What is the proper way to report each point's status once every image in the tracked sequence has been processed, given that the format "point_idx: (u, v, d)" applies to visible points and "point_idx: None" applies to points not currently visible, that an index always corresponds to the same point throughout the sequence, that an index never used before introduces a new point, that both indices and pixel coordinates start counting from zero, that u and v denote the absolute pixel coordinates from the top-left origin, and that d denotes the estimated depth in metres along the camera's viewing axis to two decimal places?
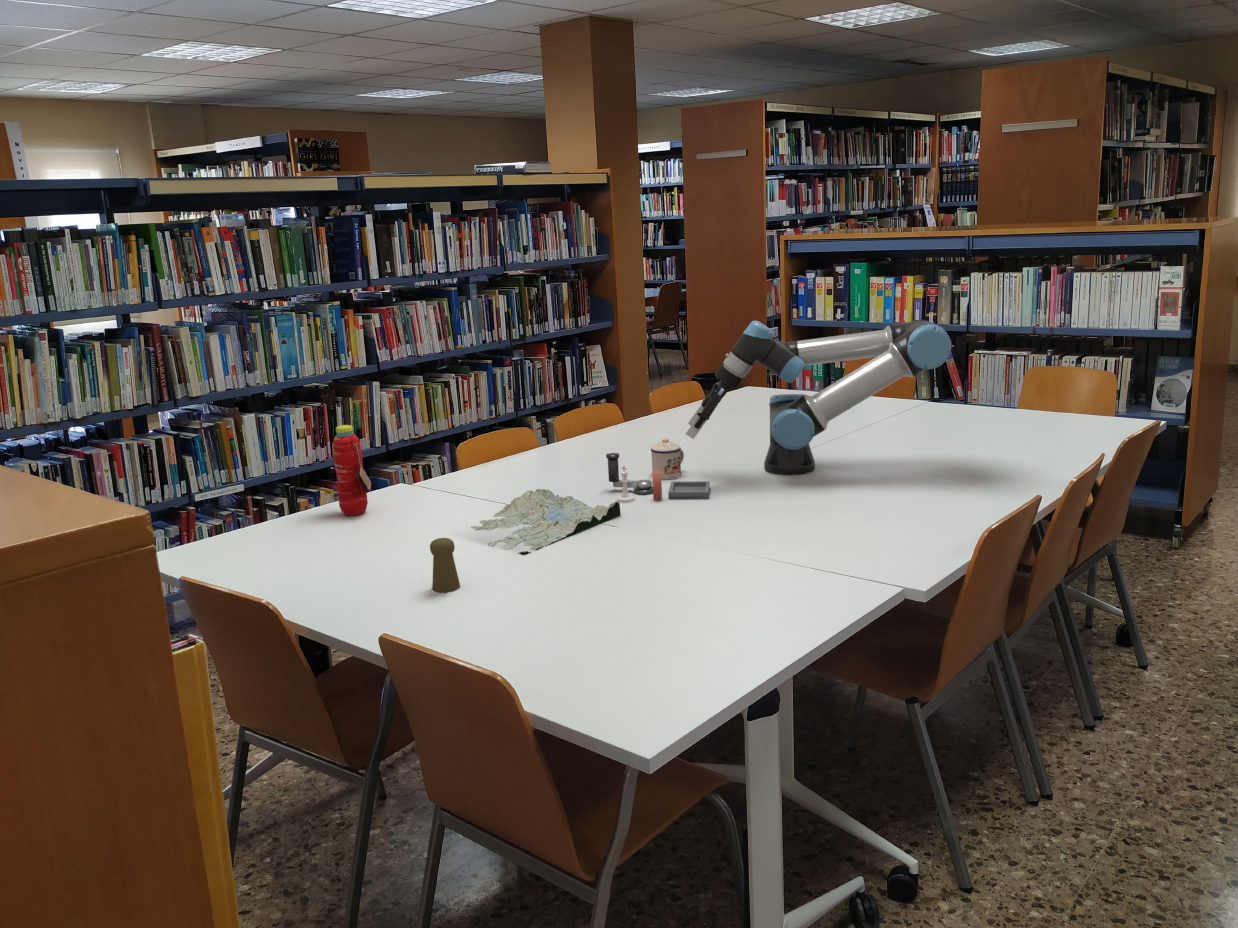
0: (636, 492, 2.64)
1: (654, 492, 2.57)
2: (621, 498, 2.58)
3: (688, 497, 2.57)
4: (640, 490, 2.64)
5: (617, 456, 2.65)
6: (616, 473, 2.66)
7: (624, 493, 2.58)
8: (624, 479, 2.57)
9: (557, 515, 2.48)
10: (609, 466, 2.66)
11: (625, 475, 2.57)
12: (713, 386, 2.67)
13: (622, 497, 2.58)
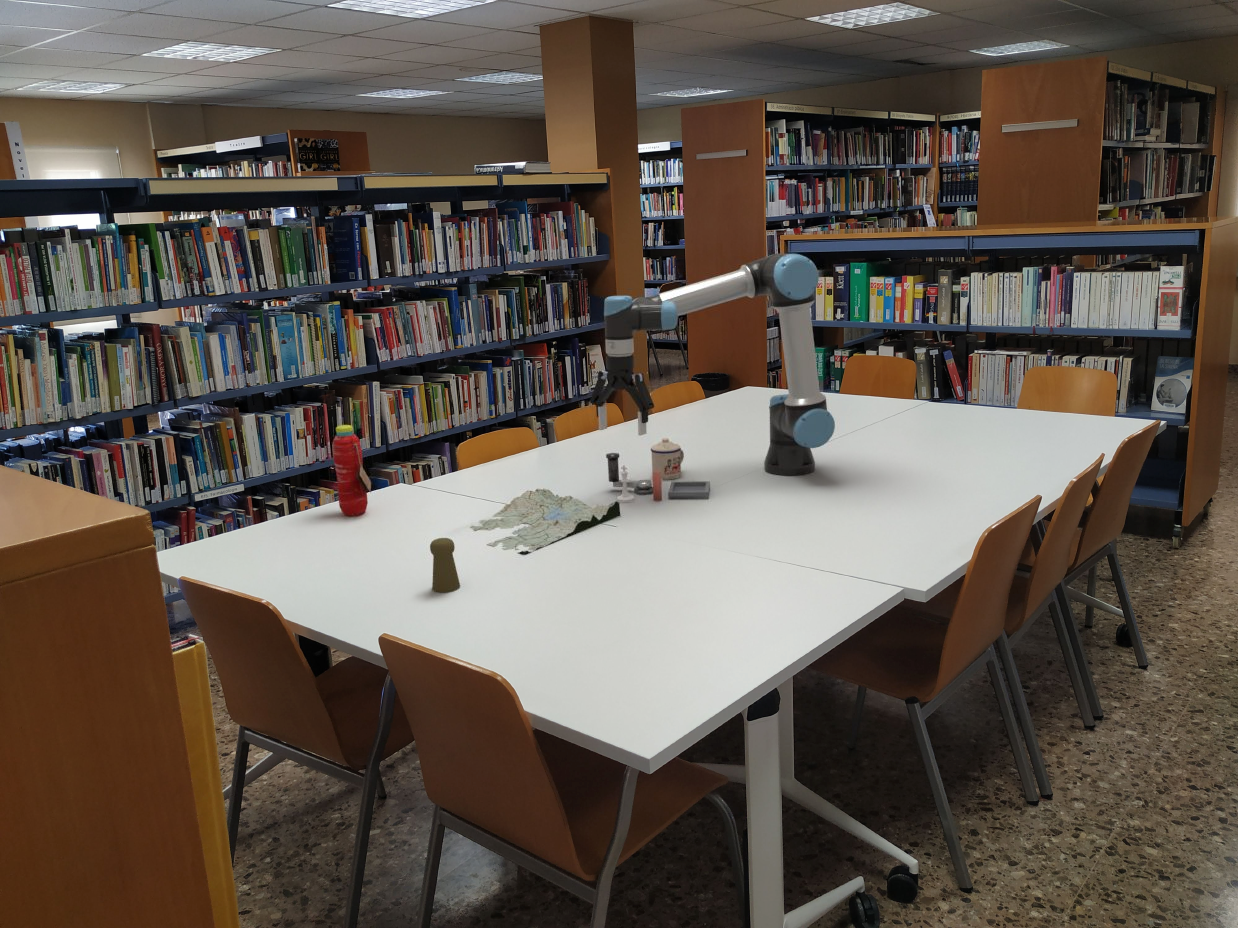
0: (636, 492, 2.64)
1: (654, 492, 2.57)
2: (621, 498, 2.58)
3: (688, 497, 2.57)
4: (640, 490, 2.64)
5: (617, 456, 2.65)
6: (616, 473, 2.66)
7: (624, 493, 2.58)
8: (624, 479, 2.57)
9: (557, 515, 2.48)
10: (609, 466, 2.66)
11: (625, 475, 2.57)
12: (613, 380, 2.50)
13: (622, 497, 2.58)
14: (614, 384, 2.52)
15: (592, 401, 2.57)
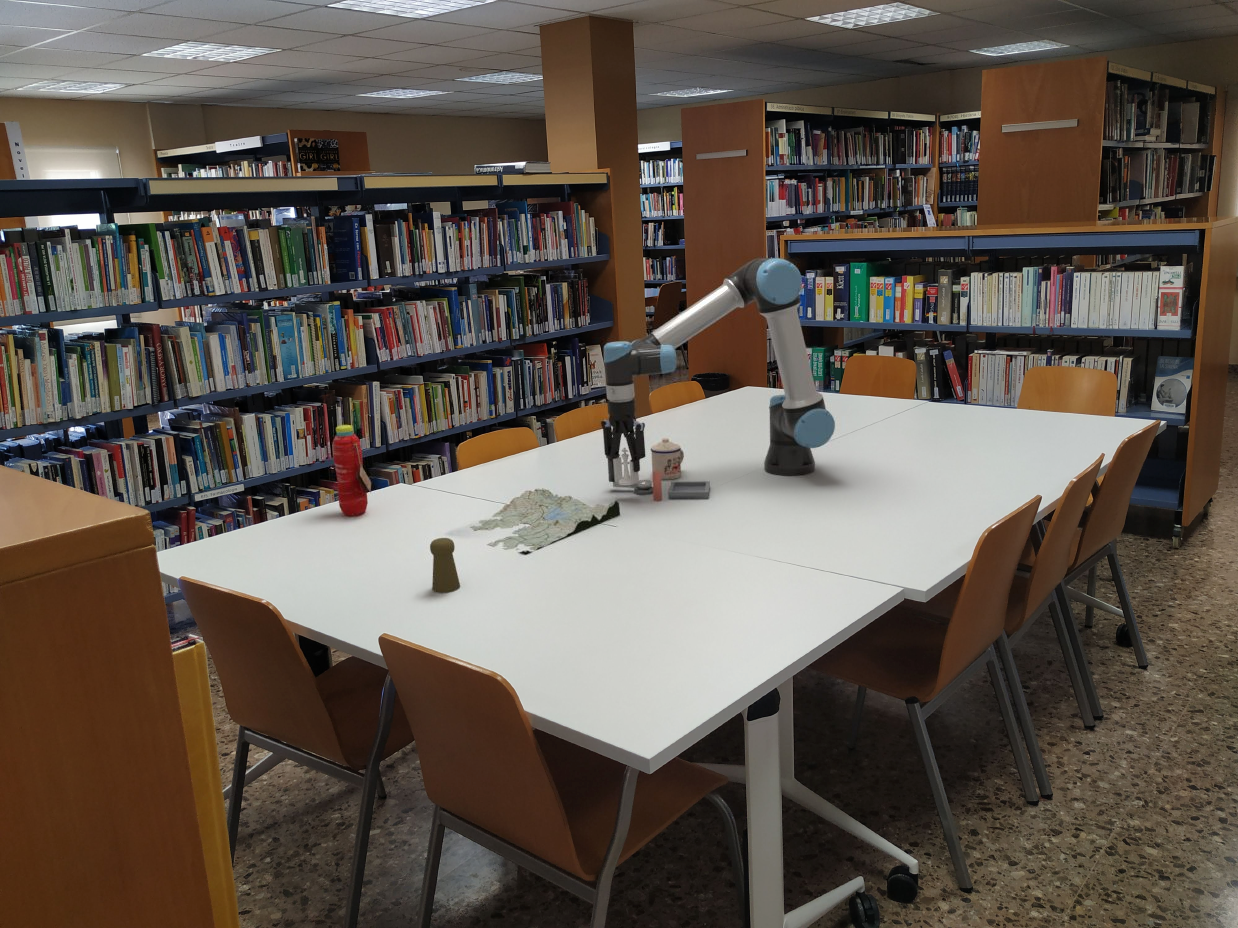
0: (636, 492, 2.64)
1: (654, 492, 2.57)
2: (622, 480, 2.57)
3: (688, 497, 2.57)
4: (640, 490, 2.64)
5: None
6: None
7: (625, 476, 2.57)
8: (625, 461, 2.56)
9: (557, 515, 2.48)
10: (609, 466, 2.66)
11: (626, 457, 2.56)
12: (616, 424, 2.53)
13: (623, 480, 2.57)
14: (618, 428, 2.54)
15: (607, 453, 2.58)
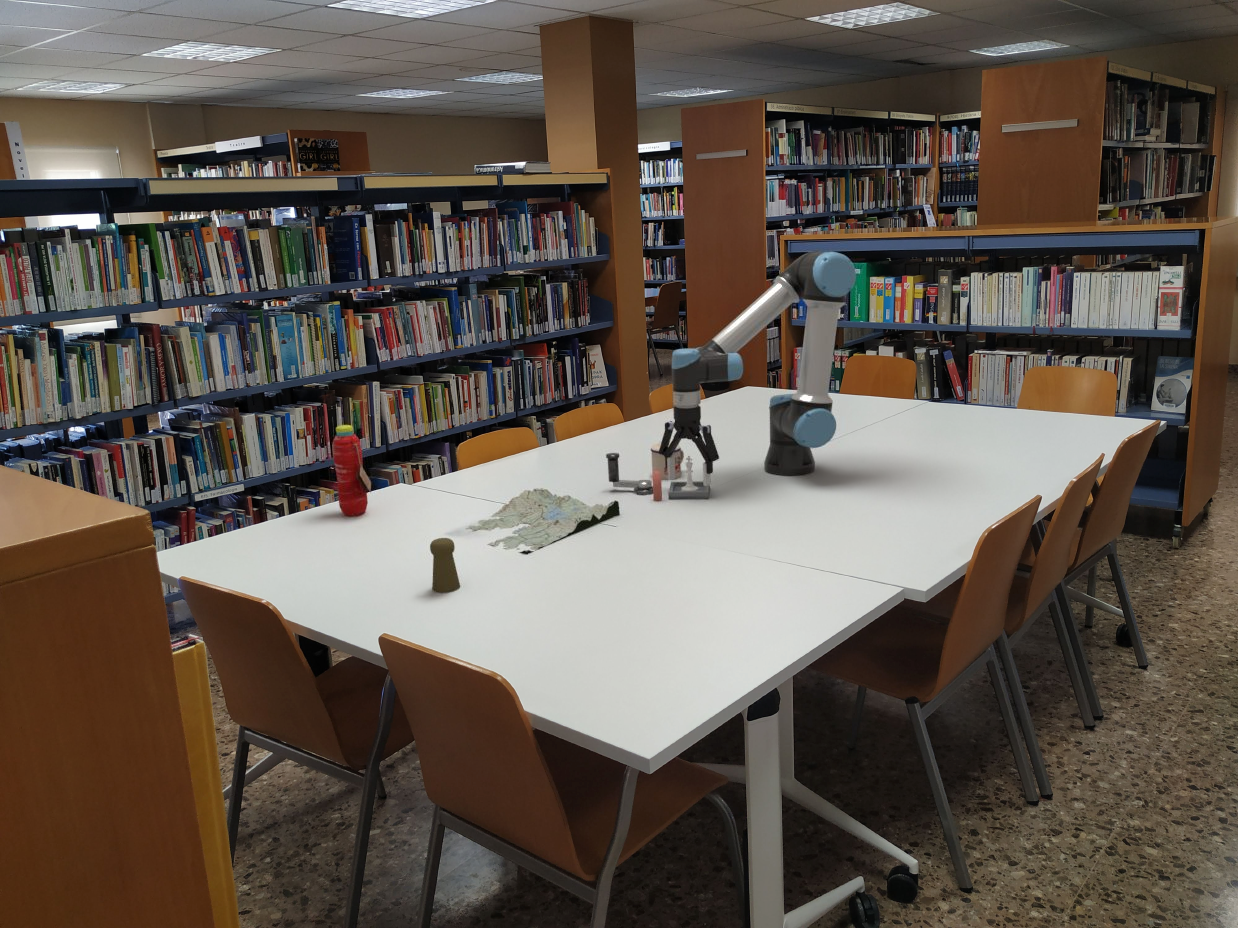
0: (636, 492, 2.64)
1: (654, 492, 2.57)
2: (685, 488, 2.61)
3: (688, 497, 2.57)
4: (640, 490, 2.64)
5: (617, 456, 2.65)
6: (616, 473, 2.66)
7: (689, 484, 2.61)
8: (689, 470, 2.60)
9: (556, 514, 2.48)
10: (609, 466, 2.66)
11: (690, 466, 2.60)
12: (681, 430, 2.57)
13: (687, 488, 2.61)
14: (682, 434, 2.58)
15: (661, 452, 2.64)
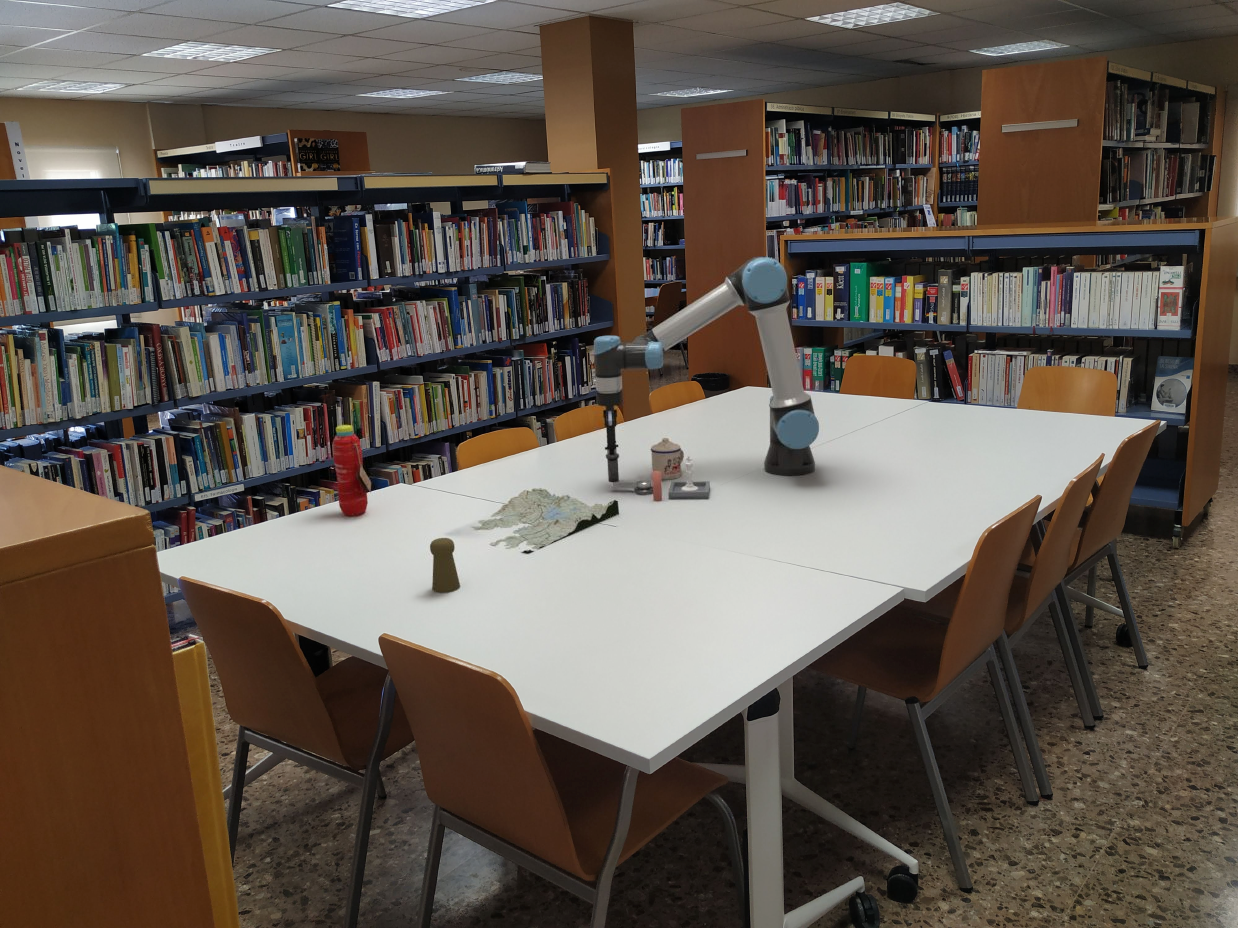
0: (636, 492, 2.64)
1: (654, 492, 2.57)
2: (685, 488, 2.61)
3: (688, 497, 2.57)
4: (640, 490, 2.64)
5: (617, 456, 2.65)
6: (616, 473, 2.66)
7: (689, 484, 2.61)
8: (689, 470, 2.60)
9: (556, 514, 2.48)
10: (609, 466, 2.66)
11: (690, 466, 2.60)
12: None
13: (687, 488, 2.61)
14: None
15: None
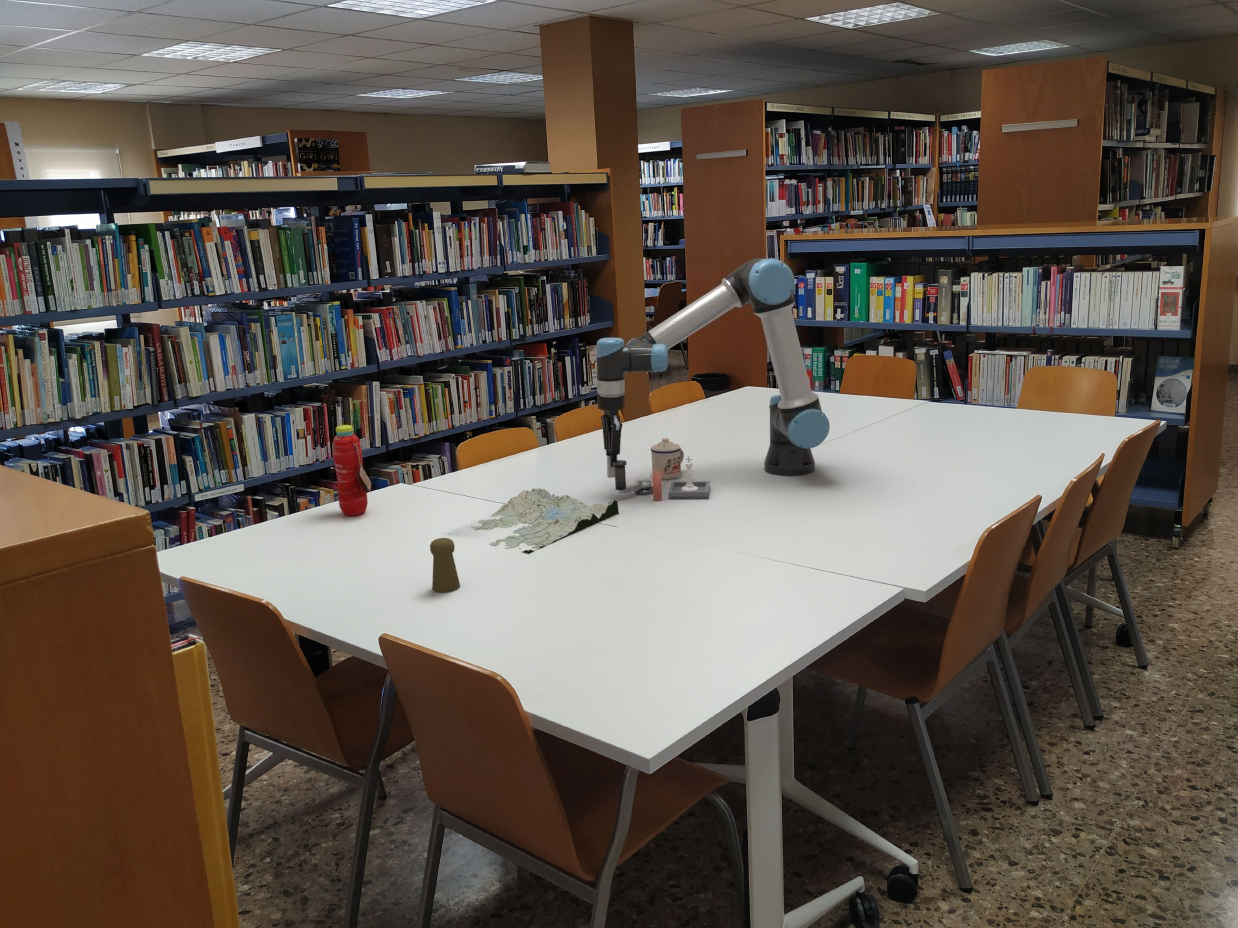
0: (636, 492, 2.64)
1: (654, 492, 2.57)
2: (685, 488, 2.61)
3: (688, 497, 2.57)
4: (640, 490, 2.64)
5: None
6: (625, 480, 2.59)
7: (689, 484, 2.61)
8: (689, 470, 2.60)
9: (556, 514, 2.49)
10: (621, 474, 2.57)
11: (690, 466, 2.60)
12: (604, 417, 2.59)
13: (687, 488, 2.61)
14: None
15: (605, 447, 2.63)
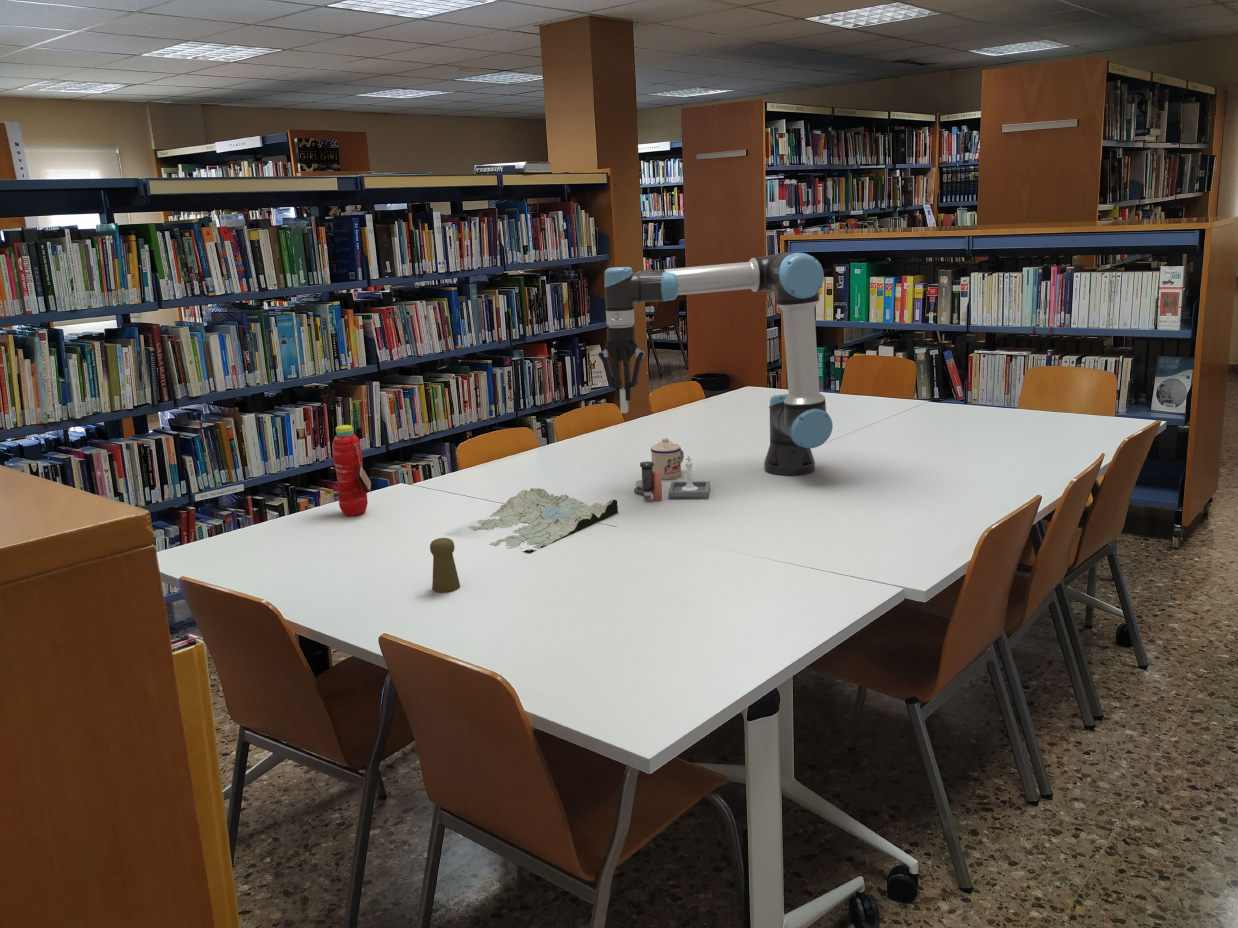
0: (636, 492, 2.64)
1: (654, 492, 2.57)
2: (685, 488, 2.61)
3: (688, 497, 2.57)
4: (640, 490, 2.64)
5: None
6: None
7: (689, 484, 2.61)
8: (689, 470, 2.60)
9: (555, 514, 2.49)
10: (652, 474, 2.55)
11: (690, 466, 2.60)
12: (617, 351, 2.50)
13: (687, 488, 2.61)
14: (619, 355, 2.51)
15: (611, 383, 2.54)
